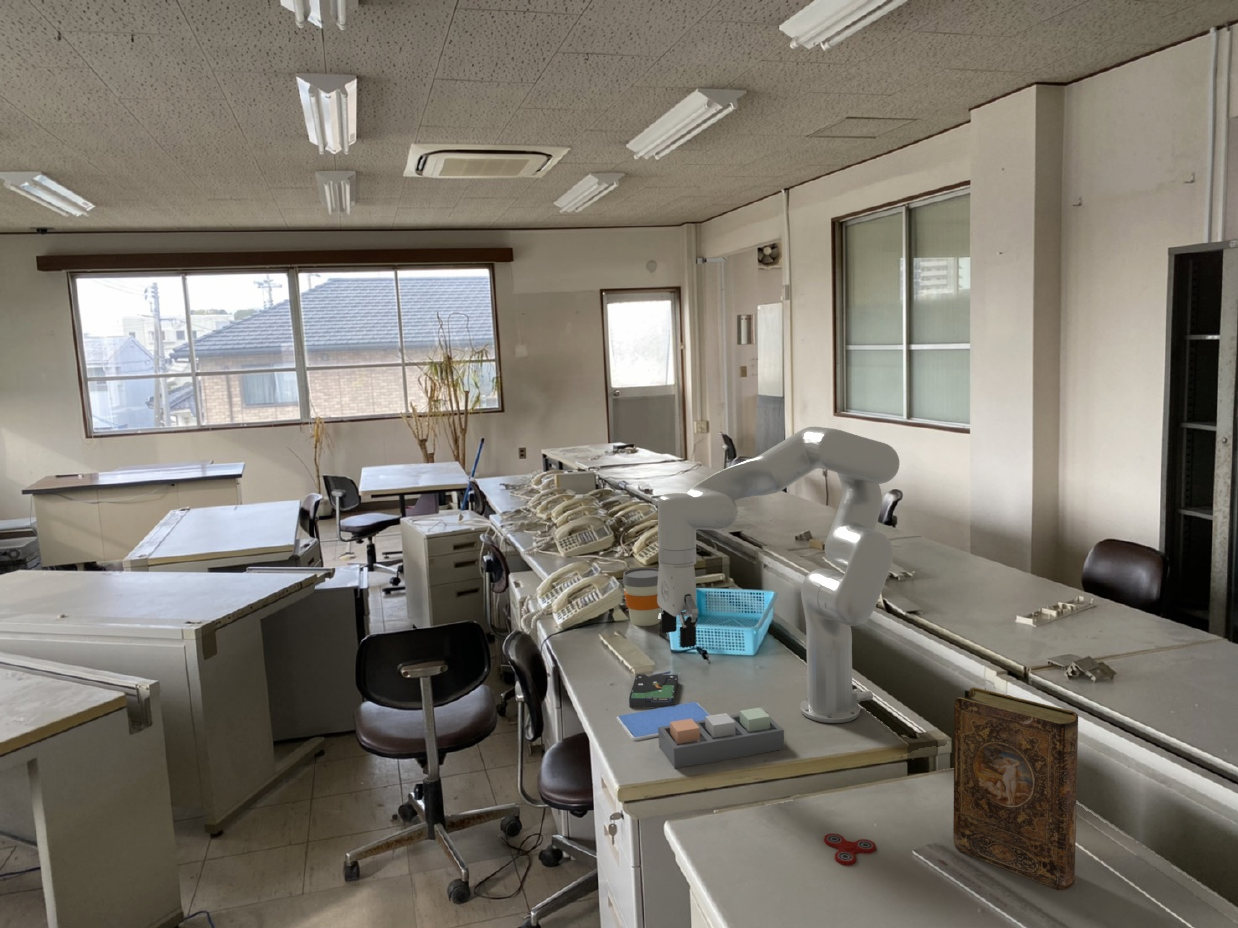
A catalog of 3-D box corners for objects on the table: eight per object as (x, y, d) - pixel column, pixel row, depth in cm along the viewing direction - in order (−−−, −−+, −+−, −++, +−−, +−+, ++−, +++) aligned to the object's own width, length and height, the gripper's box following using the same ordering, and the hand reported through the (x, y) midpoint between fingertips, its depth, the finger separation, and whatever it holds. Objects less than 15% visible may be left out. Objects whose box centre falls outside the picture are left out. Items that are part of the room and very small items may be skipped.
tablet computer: (633, 744, 174) (633, 738, 174) (615, 720, 186) (615, 714, 186) (719, 727, 179) (718, 722, 179) (696, 705, 191) (696, 700, 191)
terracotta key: (692, 730, 170) (691, 718, 169) (700, 739, 165) (699, 727, 165) (670, 733, 168) (669, 722, 168) (677, 743, 164) (677, 731, 164)
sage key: (760, 718, 173) (760, 707, 173) (770, 728, 169) (769, 716, 169) (739, 722, 172) (739, 710, 172) (748, 731, 168) (748, 719, 168)
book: (1079, 875, 124) (1083, 713, 121) (1066, 893, 120) (1070, 726, 117) (968, 834, 135) (968, 685, 132) (953, 849, 131) (953, 696, 128)
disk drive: (635, 684, 205) (629, 709, 191) (635, 673, 205) (628, 697, 191) (678, 685, 204) (674, 709, 189) (677, 674, 204) (674, 697, 189)
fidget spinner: (821, 839, 137) (821, 832, 136) (865, 835, 137) (865, 827, 137) (839, 869, 129) (839, 861, 128) (885, 864, 129) (885, 856, 129)
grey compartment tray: (763, 728, 177) (762, 710, 176) (784, 749, 167) (783, 729, 167) (658, 745, 171) (658, 727, 171) (674, 768, 162) (673, 748, 161)
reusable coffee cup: (663, 613, 259) (661, 566, 257) (668, 626, 247) (666, 576, 245) (623, 616, 259) (621, 568, 257) (626, 629, 246) (623, 579, 244)
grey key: (726, 724, 172) (726, 712, 171) (735, 733, 167) (735, 721, 167) (705, 728, 170) (705, 716, 170) (713, 737, 166) (713, 725, 166)
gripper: (644, 548, 174) (645, 628, 176) (676, 566, 158) (678, 654, 160) (677, 545, 177) (678, 624, 179) (713, 563, 160) (713, 649, 162)
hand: (678, 638), depth 169 cm, fingers open, 9 cm apart
